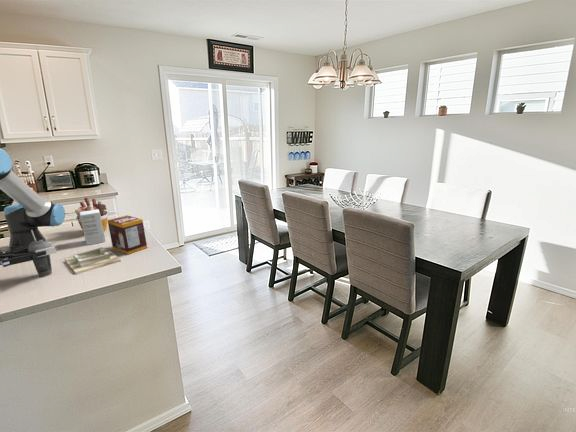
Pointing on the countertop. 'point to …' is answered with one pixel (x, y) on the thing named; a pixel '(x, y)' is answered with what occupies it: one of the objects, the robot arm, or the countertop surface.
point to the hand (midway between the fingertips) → (53, 247)
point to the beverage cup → (42, 262)
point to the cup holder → (91, 260)
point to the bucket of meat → (95, 206)
